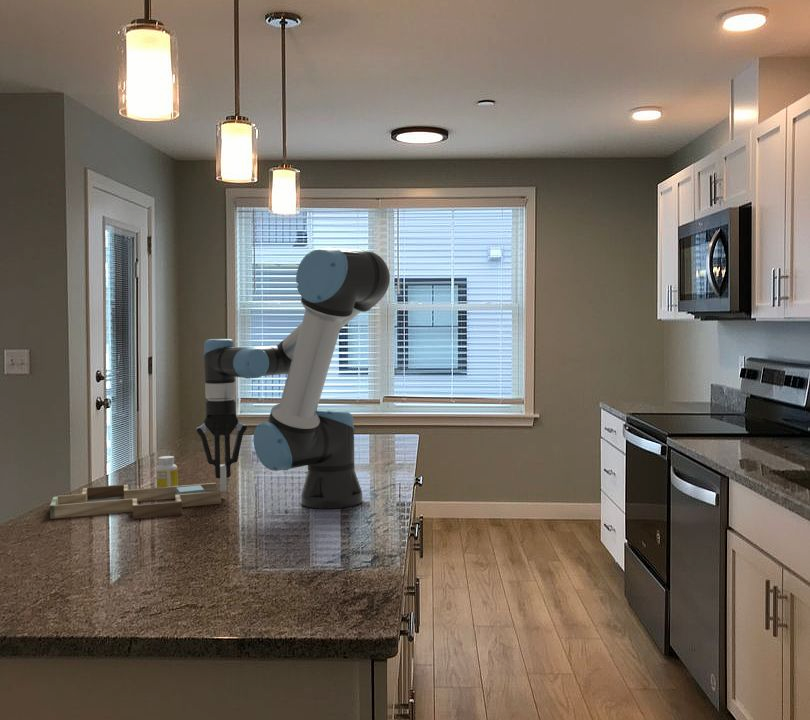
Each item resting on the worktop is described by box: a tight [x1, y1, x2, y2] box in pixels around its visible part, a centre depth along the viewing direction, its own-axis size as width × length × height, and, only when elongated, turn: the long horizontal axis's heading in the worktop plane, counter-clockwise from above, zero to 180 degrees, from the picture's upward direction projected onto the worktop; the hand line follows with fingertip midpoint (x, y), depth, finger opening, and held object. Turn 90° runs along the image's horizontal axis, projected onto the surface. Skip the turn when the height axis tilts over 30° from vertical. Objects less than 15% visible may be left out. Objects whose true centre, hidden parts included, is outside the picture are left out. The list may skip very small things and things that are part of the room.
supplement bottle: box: [156, 455, 179, 488], centre depth 220 cm, size 5×5×10 cm
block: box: [176, 485, 204, 494], centre depth 211 cm, size 6×6×4 cm
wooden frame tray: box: [49, 482, 222, 520], centre depth 207 cm, size 28×40×3 cm
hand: (223, 490), depth 214 cm, fingers closed
